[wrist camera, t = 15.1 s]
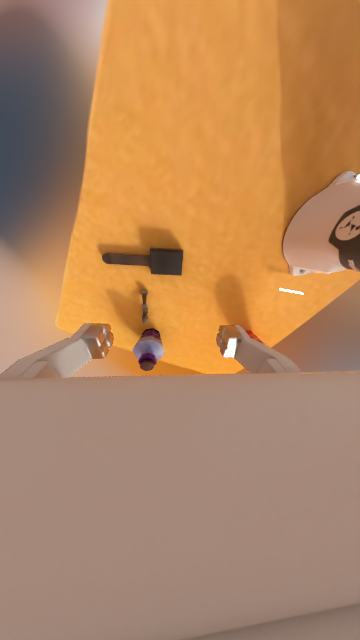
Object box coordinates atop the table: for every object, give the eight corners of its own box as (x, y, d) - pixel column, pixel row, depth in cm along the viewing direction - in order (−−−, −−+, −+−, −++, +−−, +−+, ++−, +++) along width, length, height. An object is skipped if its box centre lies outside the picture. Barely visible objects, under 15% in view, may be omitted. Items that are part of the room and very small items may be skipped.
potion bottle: (136, 343, 42) (127, 377, 32) (138, 322, 38) (128, 352, 28) (162, 346, 44) (161, 379, 34) (167, 326, 40) (168, 356, 29)
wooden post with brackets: (143, 321, 37) (140, 323, 32) (142, 292, 35) (139, 291, 31) (149, 321, 37) (147, 324, 32) (149, 292, 36) (147, 291, 31)
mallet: (182, 249, 29) (184, 250, 26) (180, 273, 31) (182, 277, 29) (101, 243, 27) (94, 244, 24) (107, 270, 29) (101, 273, 27)
